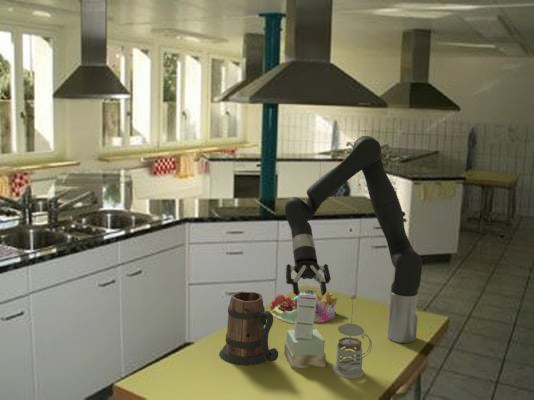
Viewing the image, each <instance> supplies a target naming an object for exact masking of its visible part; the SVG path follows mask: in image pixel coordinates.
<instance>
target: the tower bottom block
mask: <svg viewBox="0 0 534 400" xmlns="http://www.w3.org/2000/svg"><path fill="white" fill-rule="evenodd" d="M283 346H284V349H283V350H284V351H283V354H284V356H285V358H286V360H287V362H288V364H289V367H290V368H291V369H305V368H307V369H308V368H325V367H326V358H327V355H326V353H325V352H324V355H304V356H293V355H292V353H291V351H290V349H289V347H288V345H287V343H286V341H284V345H283Z"/></svg>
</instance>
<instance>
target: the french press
mask: <svg viewBox="0 0 534 400" xmlns="http://www.w3.org/2000/svg"><path fill="white" fill-rule="evenodd" d="M349 299H350V300H356V299H357V296H356V294H354V293H353V294H350V296H349ZM351 308H352V309H351V314H353V313H354V312H353V311H354V310H353V309H354V303H352V306H351ZM350 321H351V322H350V323H344V324H341V325H339V326H338V328H337V330H338V332H339V333H340V334H342V335H344V336H349V337H342V338H340V339H338V344H336V346H337V347H336V361H335V362H336V365H335V366H334V367H333V368H332V372H333V373H334V374H335V375H336V376H338V377H340V378H344V379H345V378H346V379H358V377H359V378H361V377H363V376H364V374H365V371H364V370H363V367H362V366H363V358H365V357H366V356H368V355H369V354H370V353H371V351H372V348H373V342H372V339H371V338H370V335H368V334H367V333H365V330H364V328H363V327H361V325H358V324H356V323H353V318H351V320H350ZM358 336H361V338H362V339H364V337H367V338H368V341H369V343H370V344H369V346H368V348H367V350H366V351H365V352H364V353H363V347H362V344H363V343H362V341H361V339H358V338H355V337H358ZM342 348H343V349H342ZM366 353H367V354H366ZM365 354H366V355H365ZM362 375H363V376H362Z"/></svg>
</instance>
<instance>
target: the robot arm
mask: <svg viewBox="0 0 534 400" xmlns="http://www.w3.org/2000/svg"><path fill="white" fill-rule="evenodd" d="M381 154H382V146H381V144H380V143H379V141H378V140H377V139H376V138H375V137H373V136H370V135H363V136H359V137H358V138H357V139H356V140H355V141H354V144H353V147H352V151H351V152H350V153H349V154H348V155H347V156H346V157H345V159H343V160H342V161H341V162H340V163H338V165H336V166H335V167H334V168H332V169H331V170H329V171H328V172H326V173H324V175H322V176H321V177H319V178H318V179H317V180H316V181H315V182H314V183H313V184H312V185H310V186H309V188H308V189H306V195H307V197H308V198H307V199H306V201H304V200H302V199H301V198H299V197H296V196H293V197H290V198H289V199H288V200H287V201H286V203H285V205H284V212H285V213H284V214H285V217H286V219H287V222H288V225H289V228H290V230H291V240H292V253H293V254H292V255H293V259H294V265H291V264H287V265H286V268H285V281H286V285H291V287H292V292H293V295H295V297H296V296H298V295H299V283H298V282H299V281H300V279H302V280H307V279H308V280H313V279H314V281H316V282H318V283H319V286H320V293H321V296H322V297H323V296H325V295H326V294H327V285H328V284H329V283H330V281H331V279H332V278H331V274H330V270H329V266H328V264H326V263H324V265H319V264H318V257H317V250H316V245H315V240H314V238H313V237H314V235H313V229H312V226H311V224H310V222H308V221H310V220H311V219H312V218H313V217H314V215H315V214H316V213H317V211H318V210H319V209H320V207H321V205H322V204H323V203H324V202H325V201H326V200H327V199H328V198H329V197H331V196H332V195H333V194H334V193H336V192H337V190H338V189H340V188H341V187H342V186H344V184H345V183H347V182H348V181H349V180H350V179H352V178H353V177H354V176H355V175H357V174H358V173H359V172H361V171H362V174H363V176H364V179H365V183H366V187H367V192H368V195H369V196H368V197H369V201H370V203H371V206H372V208H373V212H374V214H375V217H376V219H377V221H378V224H379V227H380V229H381V231H382V233H383V235H384V237H385V240H386V243H387V247H388V251H389V255H390V261H391V264H392V265H393V267H394V270H395V271H394V279H393V282H392V283H391V285H390V286H391V287H390V289H391V290H390V301H389V302H390V303H389V310H388V311H389V313H388V327H387V338H388V339H389V340H390V341H392V342H395V343H400V344H408V343H412V342H416V340H417V330H418V318H419V316H418V314H417V303H418V294H419V293H418V292H419V288H420V287H421V279H422V274H423V273H422V272H423V271H422V270H423V261H422V258H421V256H420V254H419V253H417V251H415V249H414V248H413V246H412V244H411V242H410V240H409V238H408V236H407V233H406V229H405V220H404V213H403V209H402V205H401V203H400V199H399V197H398V195H397V192H396V190H395V187H394V186H393V184H392V182H391V180H390V179H389V176H388V175H387V172H386V170H385V167H384V164H383V160H382V156H381ZM293 271H294V272H295V273H296V275H295V277H294V278H292V273H293ZM320 271H321V273H323V275H322V274H321V273H320ZM326 284H327V285H326Z"/></svg>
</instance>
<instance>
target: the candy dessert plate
mask: <svg viewBox="0 0 534 400" xmlns="http://www.w3.org/2000/svg"><path fill="white" fill-rule="evenodd" d="M316 295H317V300H316V309H315V318H314V323H326V322H328V321H329V322H331V321H332V320H334V319H335V318H336V311H335V310H336V309H335V306H336V305H337V301H338V297H334V298H333V297H332V296H333V293H331V292H326V293H325V298H324V297H323V296H322V295H320V294H318V293H317V292H316ZM270 303H271V305H270V306H269V308H270V309H269V311H270V312H271V313H272V315H273V318H276V319H277V320H278V321H281V322H283V323H288V324H292V325H295V320H296V312H297V303H298V296H296V295H295V297H294V298H293V299H292V297H290V296H286V297H285V295H284V294H282V293H279V294H277V295H275V297H274V299H273V300H271V302H270Z"/></svg>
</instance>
